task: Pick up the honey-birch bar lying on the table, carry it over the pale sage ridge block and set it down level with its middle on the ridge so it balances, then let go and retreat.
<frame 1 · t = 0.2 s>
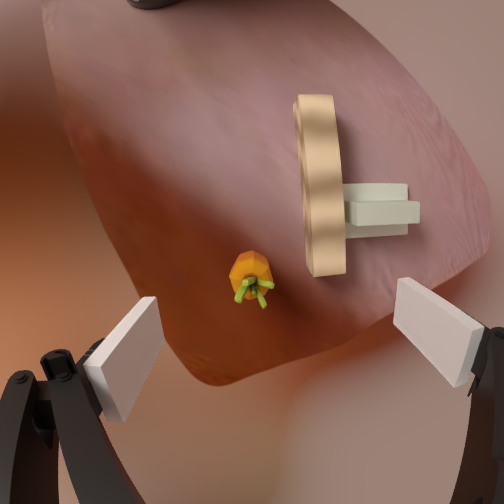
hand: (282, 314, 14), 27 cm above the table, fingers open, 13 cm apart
birch bar: (316, 184, 40), on the table
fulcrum: (372, 209, 40), on the table
carrot: (250, 257, 42), on the table
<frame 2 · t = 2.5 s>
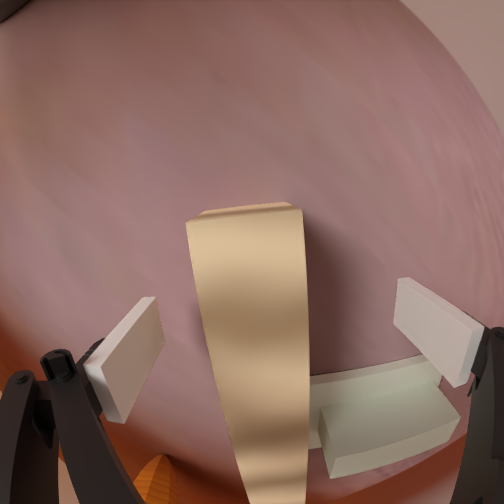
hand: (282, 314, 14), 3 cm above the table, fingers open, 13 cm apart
birch bar: (264, 377, 19), on the table
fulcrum: (374, 400, 19), on the table
carrot: (164, 453, 21), on the table
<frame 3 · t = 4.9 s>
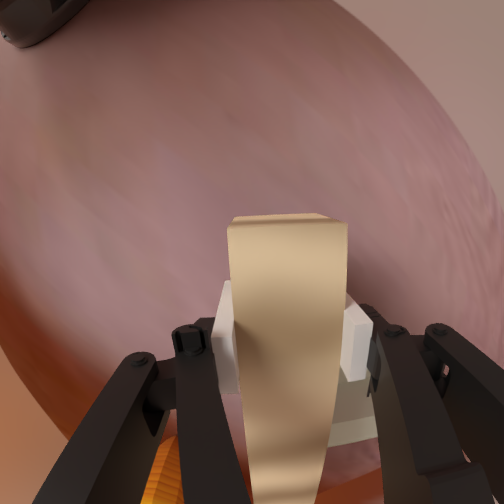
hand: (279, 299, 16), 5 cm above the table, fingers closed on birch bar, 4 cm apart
birch bar: (279, 391, 18), point 5 cm above the table, touching gripper
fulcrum: (361, 384, 24), on the table
carrot: (177, 435, 25), on the table
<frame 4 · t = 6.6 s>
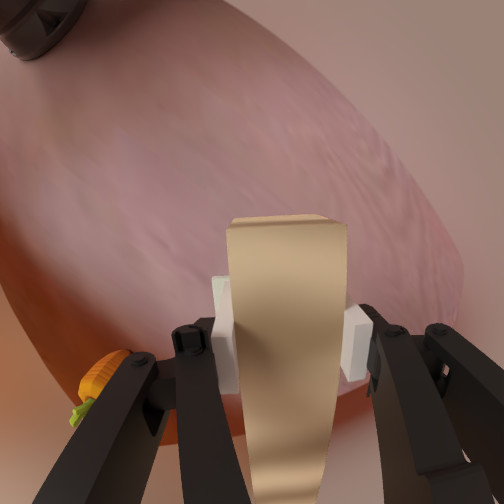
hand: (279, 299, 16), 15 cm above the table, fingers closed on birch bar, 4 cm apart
birch bar: (280, 392, 18), point 15 cm above the table, touching gripper
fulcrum: (268, 305, 33), on the table
carrot: (128, 350, 34), on the table
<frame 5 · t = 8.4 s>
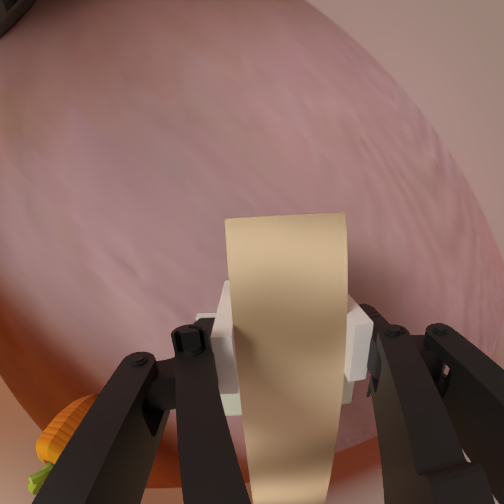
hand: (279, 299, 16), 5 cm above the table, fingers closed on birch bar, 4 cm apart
birch bar: (282, 402, 17), point 6 cm above the table, tilted 7°, touching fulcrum, gripper
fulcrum: (275, 351, 23), on the table
carrot: (98, 394, 25), on the table
when the fingers open (5 cm above the table, at t = 8.9 s): birch bar stays where it is, resting on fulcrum.
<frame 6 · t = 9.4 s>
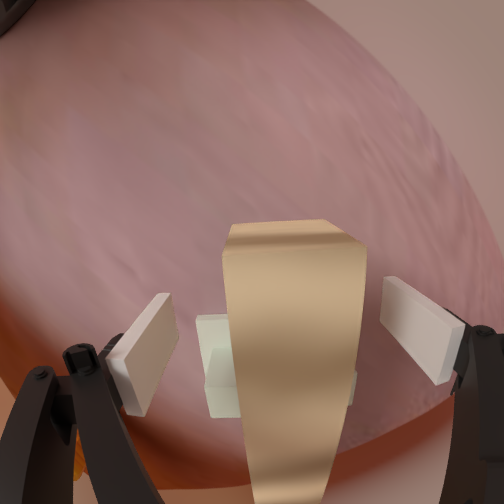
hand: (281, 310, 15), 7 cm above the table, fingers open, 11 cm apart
birch bar: (282, 403, 17), point 6 cm above the table, touching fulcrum
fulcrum: (275, 353, 23), on the table
carrot: (98, 395, 24), on the table
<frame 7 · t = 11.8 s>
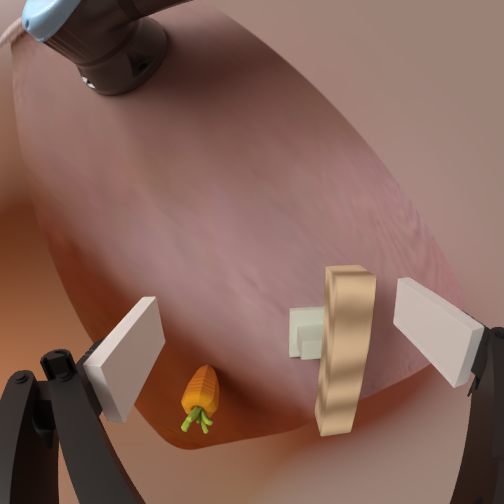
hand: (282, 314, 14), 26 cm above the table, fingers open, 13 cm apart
birch bar: (336, 349, 37), point 6 cm above the table, touching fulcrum
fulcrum: (327, 329, 42), on the table
carrot: (209, 365, 44), on the table
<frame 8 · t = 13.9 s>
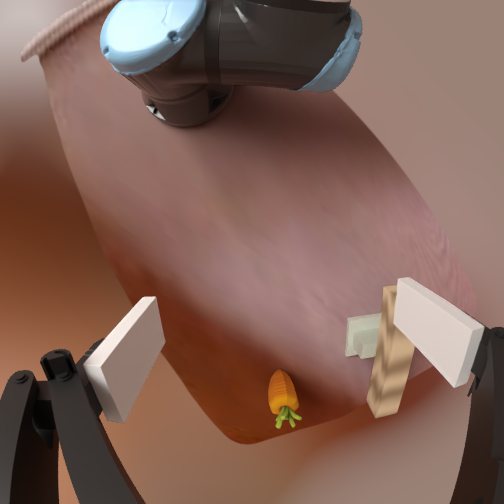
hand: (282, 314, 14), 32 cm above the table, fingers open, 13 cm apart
birch bar: (387, 348, 44), point 6 cm above the table, touching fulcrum
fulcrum: (374, 332, 50), on the table
carrot: (278, 369, 51), on the table
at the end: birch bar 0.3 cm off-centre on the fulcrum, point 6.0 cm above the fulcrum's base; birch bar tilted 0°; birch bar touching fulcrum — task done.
